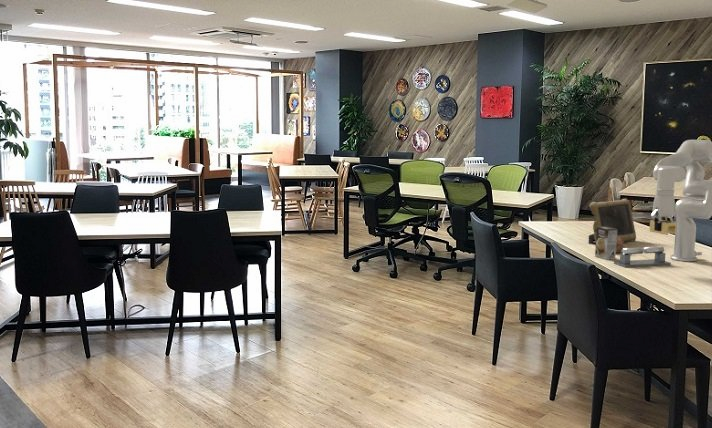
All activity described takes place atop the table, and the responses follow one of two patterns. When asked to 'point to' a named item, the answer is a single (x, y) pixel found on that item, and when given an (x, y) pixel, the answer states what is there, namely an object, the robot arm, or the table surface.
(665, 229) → the coupler
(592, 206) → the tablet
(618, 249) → the decorative rock
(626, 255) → the shaft rig
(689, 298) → the table surface
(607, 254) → the coffee box
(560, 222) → the table surface
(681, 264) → the table surface
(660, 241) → the table surface
